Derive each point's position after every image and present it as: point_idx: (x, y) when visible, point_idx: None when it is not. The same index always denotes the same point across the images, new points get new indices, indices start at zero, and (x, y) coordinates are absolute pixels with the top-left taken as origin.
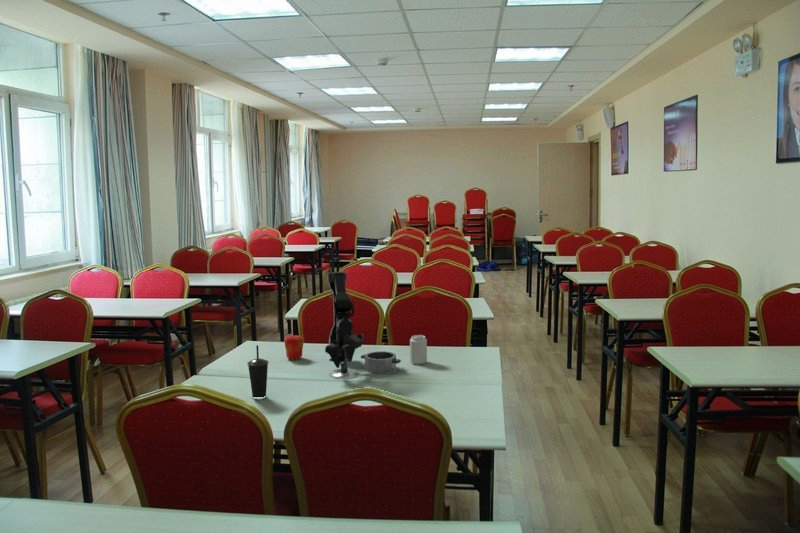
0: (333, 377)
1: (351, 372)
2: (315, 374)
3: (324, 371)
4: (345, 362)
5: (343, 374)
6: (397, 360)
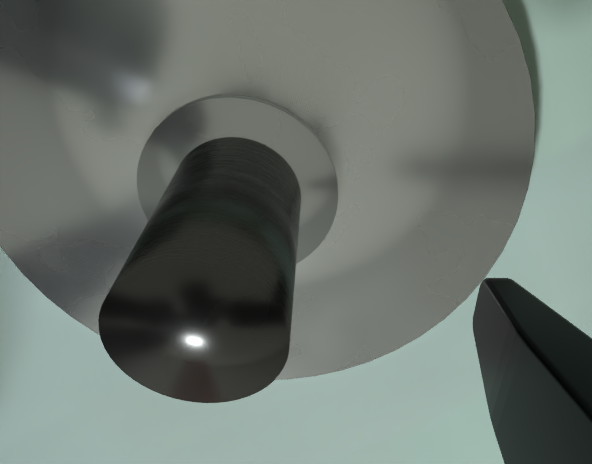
0: (509, 226)
1: (120, 95)
2: (440, 455)
3: (286, 435)
4: (167, 312)
5: (328, 151)
6: None
